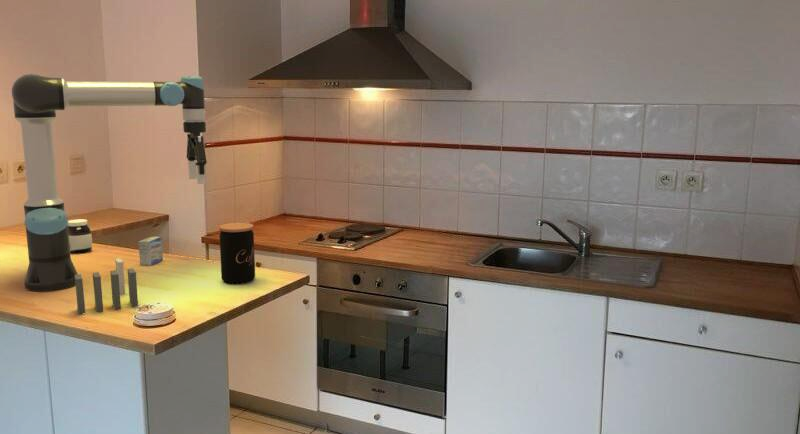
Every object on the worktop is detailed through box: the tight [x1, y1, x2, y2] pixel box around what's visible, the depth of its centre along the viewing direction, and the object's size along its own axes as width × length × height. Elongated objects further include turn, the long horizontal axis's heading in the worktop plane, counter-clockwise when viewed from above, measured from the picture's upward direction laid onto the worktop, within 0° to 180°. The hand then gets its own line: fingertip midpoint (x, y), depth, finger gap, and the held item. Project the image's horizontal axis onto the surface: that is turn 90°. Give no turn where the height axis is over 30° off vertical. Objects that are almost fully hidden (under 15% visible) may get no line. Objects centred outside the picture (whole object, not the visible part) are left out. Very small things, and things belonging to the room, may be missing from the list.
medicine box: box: [137, 236, 164, 266], centre depth 245 cm, size 8×4×9 cm, turn 168°
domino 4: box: [109, 269, 122, 310], centre depth 197 cm, size 2×5×10 cm, turn 29°
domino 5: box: [126, 267, 139, 308], centre depth 199 cm, size 2×5×10 cm, turn 29°
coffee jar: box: [219, 222, 256, 286], centre depth 223 cm, size 11×11×18 cm
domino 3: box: [115, 257, 126, 296], centre depth 210 cm, size 2×5×10 cm, turn 29°
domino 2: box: [92, 271, 104, 313], centre depth 195 cm, size 2×5×10 cm, turn 28°
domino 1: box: [74, 273, 86, 315], centre depth 193 cm, size 2×5×10 cm, turn 28°
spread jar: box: [68, 218, 93, 254], centre depth 259 cm, size 12×11×12 cm
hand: (197, 181), depth 247 cm, fingers open, 13 cm apart
